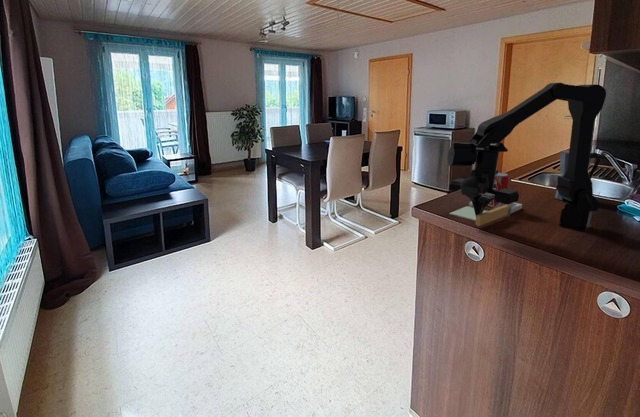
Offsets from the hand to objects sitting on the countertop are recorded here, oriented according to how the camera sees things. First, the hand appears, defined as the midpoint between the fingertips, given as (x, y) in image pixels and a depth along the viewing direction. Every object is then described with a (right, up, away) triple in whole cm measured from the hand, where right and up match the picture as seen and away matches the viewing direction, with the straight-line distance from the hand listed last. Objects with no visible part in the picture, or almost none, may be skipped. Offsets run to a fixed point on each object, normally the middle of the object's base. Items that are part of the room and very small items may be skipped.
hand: (477, 217), depth 108 cm
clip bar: (+5, -1, +2) cm, 6 cm away
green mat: (+3, +1, +10) cm, 10 cm away
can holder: (+13, +3, +16) cm, 21 cm away
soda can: (+13, +3, +16) cm, 21 cm away
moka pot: (+44, +6, +24) cm, 51 cm away
